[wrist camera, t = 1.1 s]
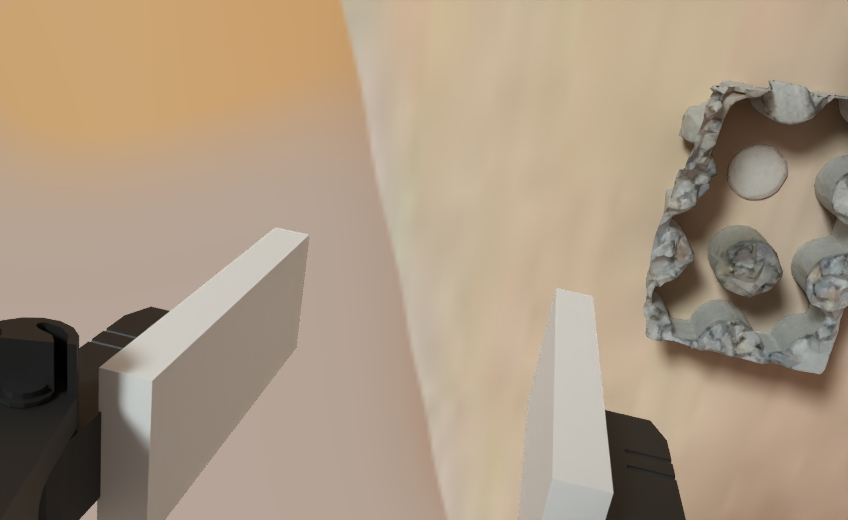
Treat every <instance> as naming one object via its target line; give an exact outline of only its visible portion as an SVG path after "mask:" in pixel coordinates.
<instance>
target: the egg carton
mask: <svg viewBox="0 0 848 520" xmlns="http://www.w3.org/2000/svg"><path fill="white" fill-rule="evenodd" d="M769 84H770V87H768V88H758V87H753V86H751V85H748V84H744V83H740V82H732V81H722V82H721V83H720V85H719V86H712V87H711V88H710V89H711V90H712V91H713V93H712V94H711V97H710V98H709V99H708V100H707V101H705V102H704V103H702V104H700V105H697V106H692V107H689V108H688V109H687V110H686V112H685V113H684V116H683V119H682V125H681V129H680V133H679V136H682V137H684V139H685V140H687V141H689V142H691V143H693V144H694V148H693V150H692V151H691V154H690V156H689V159H688V161H687V163H686V166H685V168H684V169H683V170H679V172H678V174H677V177H676V180H675V184H674V187H673V189H667V190H666V198H665V208H664V214H663V217H662V219H661V222H660V224H659V227H658V230H657V232H656V235H655V239H654V244H653V248H652V254H651V261H650V267H649V270H648V273H647V277H646V288H647V299H646V302H645V305H644V309H643V311H644V315H645V317H646V333H645V334H646V336H647V337H648V338H650V339H652V340H658V341H661V340H670V341H674V342H679V343H682V344H685V345H687V346H689V347H690V348H692V349H696V350H699V351H713V352H717V353H720V354H724V355H727V356H729V357H736V358H742V359H745V360H749V361H753V362H756V363H759V364H762V365H763V364H769V363H773V364H778V365H781V366H784V367H787V368H790V369H794V370H798V371H804V372H809V373H815V374H821V373H822V372H823V371H824V370H825V368H826V365H827V362H828V359H829V356H830V353H831V351H832V348H833V345H834V342H835V339H836V337H837V334H838V331H839V324H840V320H841V317H842V314H843V312H844V310H845V307H847V306H848V155H842V156H839V157H837V158H835V159H832V160H831V161H829V162H828V163H827V164H825V165H824V167H823V168H822V169H821V170H820V172H819V173H818V174H817V176H816V179H815V184H814V186H815V195H816V197H817V199H818V201H819V202H820V203H821V204H822V205H823V206H824V207H825V208H826V209H828V210H829V211H830V212H831V213H833V214H834V215H835V216H836V221H835V224H834V227H833V230H832V233H831V236H829V237H826V238H817V239H814V240H811V241H809V242H807V243H805V244H803V245H802V246H801V247H800V248H799V249H798V250H797V251H796V253H795V255H794V257H793V259H792V263H791V273H792V276H793V277H794V279H795V281H796V282H797V283H798V284H799V285H800V287H801V288H802V289H803V290H804V292H805V293H806V294H807V297H808V299H809V301H810V305H809V308H808V310H807V312H806V313H796V314H791V315H788V316H785V317H783V318H782V319H781V320H779V321H778V322H777V323H776V324H775V325H774V326H773V328H772V329H771V331H770V332H768V333H764V332H760V331H754V330H753V329H752V328H751V326H750V324H749V322H748V320H747V319H746V317H745V315H744V314H743V312H742V311H741V310H740V309H739V308H738V307H737V306H736V305H735V304H733V303H731V302H729V301H726V300H712V301H709V302H706V303H704V304H702V305H701V306H699V307H698V308H697V309H696V310H695V311H694V313H693V315H692V316H691V318H690V319H689V320H681V319H674V318H670V317H669V315H668V312H667V309H666V307H665V304H664V302H663V300H662V298H661V297H660V296H659V295H658V294H657V293H656V292H654V291H653V290H654V288H655V286H657V287H661V286H662V285H663V284H664V283H665V282H669V281H672V280H674V279H677V277H678V276H679V275H680V274H681V273H682V272H683V271H684V270H685V269H686V267H687V266H688V265H689V264H691V263H693V258H694V253H693V251H692V250H691V247H690V245H689V242H688V240H687V238H686V236H685V234H684V232H683V230H682V229H681V227H680V226H679V224H677V223H676V222H675V221H674V220H673V219H672V217H673V216H674V215H678V214H681V213H683V212H686V211H688V210H690V209H692V208H694V207H695V206H696V205H697V199H698V198H699V197H700V196H702V195H704V194H705V193H706V192H707V191H708V190H709V189H710V180H711V178H712V177H714V176H715V175H717V169H716V166H715V162H714V159H713V157H712V156H711V153H712V150H713V148H714V146H715V144H716V142H717V139H718V136H719V133H720V130H721V127H722V124H723V121H724V119H725V117H726V115H727V113H728V111H729V109H730V108H731V107H732V106H733V105H734V103H735V102H736V101H740V100H743V99H746V98H749V100H750V102H751V104H752V106H753V107H754V108H755V109H756V110H757V111H758V112H759V113H761V114H762V115H764V116H766V117H767V118H769V119H771V120H773V121H775V122H777V123H779V124H785V125H795V124H799V123H803V122H806V121H808V120H810V119H812V118H813V117H814V116H816V115H817V114H818V113H820V112H821V110H822V109H823V107H824V106H825V105H826V104H828V103H829V102H830V101H831V100H832V99H834V98H838V103H839V110H840V112H841V115H842V117H843V118H844V119H845V121H847V122H848V97H845V96H841V95H838V94H831V93H824V92H819V91H815V92H811V93H810V92H809V91H808V89H807V88H806V87H802V86H799V85H794V84H789V83H784V82H778V81H769ZM787 172H788V168H787V162H786V160H785V158H784V157H783V155H782V154H781V153H780V152H779V151H778V150H777V149H776V148H774V147H773V146H769V145H765V144H755V145H753V146H749V147H747V148H744V149H742V150H741V151H740V152H739V153H737V154H736V155H735V156H734V157H733V159H732V160H731V162H730V164H729V166H728V174H727V176H728V179H727V180H728V182H729V185H730V187H731V188H732V190H733V191H734V192H735V193H736V194H737V195H739V196H740V197H742V198H745V199H748V200H760V199H763V198H766V197H769V196H771V195H772V194H774V193H775V192H777V191H778V190H779V188H780V187H781V185H782V184H783V182H784V180H785V179H786V177H787ZM707 250H708V260H709V263H710V265H711V267H712V269H713V270H714V272H715V274H716V277H717V279H718V280H719V281H720V283H721V284H722V285H723V286H724V287H725V288H726V289H727V290H729V291H731V292H733V293H736V294H738V295H741V296H745V297H749V298H750V297H753V296H755V295H758V294H760V293H763V292H766V291H769V290H770V289H772V288H773V287H774V286H775V284H776V283H777V282H778V281H779V280H780V279H781V278H782V274H783V271H782V268H781V265H780V262H779V259H778V256H777V253H776V252H775V251H774V249H773V248H772V247H771V246H770V245H769V243H768V242H767V241H766V240H765V239H764V237H763V236H762V235H761V234H760V233H759V232H758V231H757V230H755V229H753V228H751V227H749V226H744V225H735V226H729V227H726V228H724V229H722V230H721V231H720V232H718V233H717V234H716V235H715V236H714V238H713V239H712V240H711V242H710V244H709V247H708V249H707ZM717 282H718V281H717Z"/></svg>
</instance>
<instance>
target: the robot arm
mask: <svg viewBox="0 0 848 520" xmlns="http://www.w3.org/2000/svg"><path fill="white" fill-rule="evenodd" d="M308 242H309V234H304V233H299V232H295V231H290V230H286V229H281V228H276V227H275V228H274V229H273V230H272V231H270V232H269V233H268V234H267V235H265V236H264V237H263V238H262V239H260V240H259V241H258V242H256V243H255V244H254V245H253V246H251V247H250V248H249V249H248V250H247V251H245V252H244V253H243V254H241V255H240V256H239V257H238V258H236V259H235V260H234V261H233V262H231V263H230V264H229V265H228V266H226V267H225V268H224V269H222V270H221V271H220V272H219V273H218V274H216V275H215V276H214V277H213V278H211V279H210V280H209V281H208V282H206V283H205V284H204V285H202V286H201V287H200V288H199V289H197V290H196V291H195V292H194V293H192V294H191V295H190V296H189V297H187V298H186V299H185V300H183V301H182V302H181V303H180V304H179V305H177V306H176V307H175V308H173V309H172V310H171V311H166V310H163V309H158V308H154V307H149V308H146V309H143V310H140V311H137V312H134V313H131V314H128V315H125V316H123V317H122V318H121V319H119V320H118V321H117V322H115V323H114V324H112V325H111V326H110V327H108V328H107V330H106V331H103V332H101V333H100V334H98V335H97V336H96V337H94V338H93V339H92V342H87V343H86V344H85V345H83V346H82V347H80V348H79V335H78V333H77V332H76V331H75V329H74V328H73V327H71V326H69V325H67V324H65V323H63V322H61V321H56V320H51V319H46V318H16V319H9V320H2V321H0V520H79V519H80V518H81V517H82V516H83V515H84V514H85V513H86V511H88V509H89V508H90V507H91V506H92V505H93V504H94V503H95V502H96V501H98V503H97V505H98V506H97V520H165V519H166V518H167V516H168V515H169V513H170V512H171V511H172V510H173V508H174V507H175V506H176V505H177V503H178V502H179V501H180V499H181V498H182V497H183V495H184V494H185V493H186V491H187V490H188V489H189V487H190V486H191V485H192V483H193V482H194V481H195V480H196V478H197V477H198V476H199V474H200V473H201V472H202V470H203V469H204V468H205V467H206V465H207V464H208V463H209V461H210V460H211V459H212V457H213V456H214V455H215V453H216V452H217V451H218V450H219V448H220V447H221V446H222V444H223V443H224V441H225V440H226V439H227V438H228V436H229V435H230V434H231V432H232V431H233V430H234V429H235V427H236V426H237V425H238V423H239V422H240V421H241V419H242V418H243V417H244V415H245V414H246V413H247V412H248V410H249V409H250V408H251V406H252V405H253V404H254V402H255V401H256V400H257V398H258V397H259V396H260V394H261V393H262V392H263V390H264V389H265V388H266V387H267V385H268V384H269V383H270V381H271V380H272V379H273V377H274V376H275V375H276V374H277V372H278V371H279V370H280V368H281V367H282V366H283V364H284V363H285V362H286V360H287V359H288V358H289V356H290V355H291V354H292V353H293V351H294V350H295V349H296V345H297V338H298V329H299V320H300V312H301V303H302V294H303V285H304V277H305V268H306V259H307V251H308ZM518 520H686V519H685V515H684V511H683V506H682V502H681V498H680V494H679V490H678V486H677V481H676V480H675V473H674V469H673V465H672V464H671V456H670V452H669V448H668V444H667V440H666V439H665V438H664V437H663V435H662V434H661V433H660V432H659V431H658V429H657V428H656V427H655V426H654V425H653V423H652V422H651V421H649V420H645V419H641V418H636V417H632V416H628V415H624V414H619V413H615V412H611V411H606V410H605V408H604V398H603V389H602V379H601V370H600V360H599V351H598V341H597V332H596V322H595V313H594V303H593V296H590V295H586V294H581V293H576V292H572V291H567V290H563V289H558V288H556V290H555V294H554V298H553V302H552V306H551V310H550V315H549V319H548V323H547V327H546V331H545V335H544V339H543V343H542V347H541V351H540V355H539V359H538V363H537V367H536V371H535V375H534V380H533V384H532V388H531V392H530V396H529V400H528V408H527V420H526V432H525V444H524V456H523V468H522V480H521V492H520V504H519V516H518Z"/></svg>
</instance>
